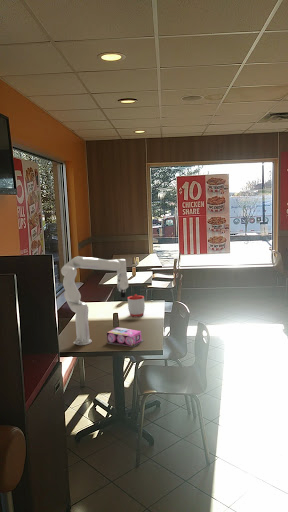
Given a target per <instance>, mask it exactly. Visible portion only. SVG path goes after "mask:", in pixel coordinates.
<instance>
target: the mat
mask: <svg viewBox="0 0 288 512" xmlns="http://www.w3.org/2000/svg"><path fill="white" fill-rule="evenodd" d="M144 341H145V340H144V339H142V341H140V342H138V343H136V344H134V345H132V346H127V345H122V344H117V343H111V342H107V344H109V345H117V346H123V347H125V346H126V347H131V348H135V347H137V346H138V345H139V344H141V343H143V342H144Z"/></svg>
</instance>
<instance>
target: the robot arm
mask: <svg viewBox="0 0 288 512" xmlns="http://www.w3.org/2000/svg"><path fill="white" fill-rule="evenodd" d="M79 268H80V269H86V270H87V269H88V270H89V269H90V270H101V271H116V275H117V276H116V279H117V281H116V285H117V287H116V288H117V290H118V292H120V297H121V298H126V297H127V296H126V292H127V289H128V288H129V278H128V275H127V260H126V259H125V258H118V259H104V258H98V257H86V256H80V255H78V256H75V257H73V258H72V259H70V260H69V261H68V262H67V263H65V264H64V265H63V266H62V267H61V269H60V272H61V275H62V276H64V277H63V280H62V285H63V288H64V293H63V294H64V296H63V297H64V299H65V301H66V302H67V303H66V304H68V307H69V309H70V310H71V311H72V312H74V313H75V333H76V338H75V340H74V341H73V344H75V345H77V346H86V345H90V344H91V343H92V342H93V341H92V339H91V338H90V327H89V306H88V304H86V302H84V301H81V300H82V299H81V298H82V295H81V293H80V291H79V288H78V287H77V285H76V283H75V282H76V281H75V280H76V278H77V274H78V271H77V269H79Z"/></svg>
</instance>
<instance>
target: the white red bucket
mask: <svg viewBox="0 0 288 512" xmlns="http://www.w3.org/2000/svg"><path fill="white" fill-rule="evenodd" d="M145 305H146V304H145V296H144V295H138V294H137V293H135V294H134V295H130V296H127V306H128V308H127V309H128V313H129V315H130V317H133V318H135V317H142V316H143V315H144V314H145V307H146V306H145Z"/></svg>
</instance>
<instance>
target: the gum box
mask: <svg viewBox="0 0 288 512" xmlns="http://www.w3.org/2000/svg"><path fill="white" fill-rule="evenodd" d="M106 340H107V341H106V342H107V343H108V342H111V343H117V344H122V345H127V346H126V347H129V346H132V345H134V344H136V343H138V342H140V341H142V340H143V338H142V331H141V330H136V329H130V328H125V327H118V326H117V327H115V328H113V329H112V330H109V331H107V332H106ZM142 342H143V341H142ZM122 345H121V346H122Z"/></svg>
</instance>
